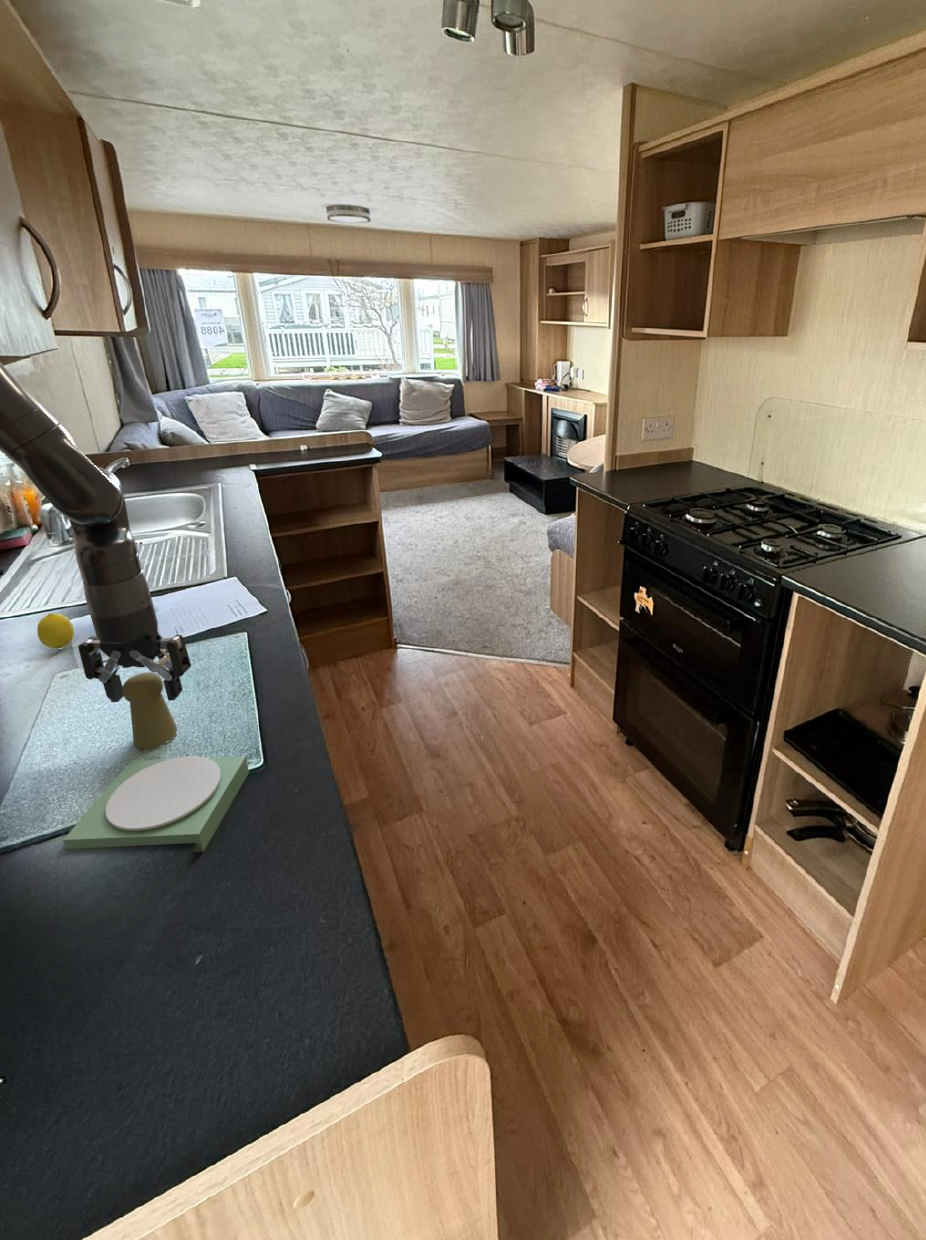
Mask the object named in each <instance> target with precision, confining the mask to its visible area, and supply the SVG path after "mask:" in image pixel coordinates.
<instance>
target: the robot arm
mask: <svg viewBox="0 0 926 1240" xmlns="http://www.w3.org/2000/svg"><path fill="white" fill-rule="evenodd" d="M0 452H1V453H2V454H4V456H5V457H7V458H8V459H9V460H10V461H11V462H12V463H14V464H15V465H16V466H17V467H18V468H20V470H21V471H22V472H23V473H24V474H25V476H27V478H28V479H29V480H30V481H31V483H32V484H33V485H34V486H35V487H36V488H37V490H38V491H39V492H40V493H41V494H42V495H43V497H44V498H45V499H46V500H47V501H48V502H49V503H50V504H51V505H52V506H53V508H55V509H56V510H57V511H58V512H59V513H60V514H61V515H63V516H64V517H65V518H67V519H68V520H69V524H70V527H71V530H72V534H73V536H74V553H75V559H76V563H77V566H78V569H79V573H80V576H81V579H82V584H83V592H84V593H83V594H84V598H85V602H86V605H87V609H88V612H89V615H90V620H91V623H92V625H93V630H94V633H95V636H93V635H92V636H90V637H89V638H87V639H86V640H84V641H83V642H82V643H81V644H79V645H78V647H77V648H78V649H77V650H78V652H79V656H80V660H81V664H82V668H83V672H84V676H85V678H86V679H87V680H94V679H97V680H98V681H99V682H101V683H102V685H103V687H104V692H105V695H106V697H107V699H108V700H110V702H111V703H119V702H120V701H121V700H122V699H123V698H124V695H123V692H122V688H123V683H122V679H121V676H120V674H118V672H119V670H120V668H121V667H122V669H128V668H129V669H130V668H133V667H135V668H147V669H148V670H149V671H150V672H152V673H156V674H157V675H159V676H160V677H161V679H164V680H162V681H163V687H164V689H165V694H166V697H167V698H166V699H167V700H168V701H169V702H170V701H176V700H177V698H179V696H180V694H182V692H183V686H182V681H181V677H183V676H184V674H185V673H186V672H187V671H188V670H189V669H190V668H191V667H192V663H191V660H190V657H189V653H188V650H187V645H186V643H185V640H184V636H183V635H182V634H179V633H178V634H175V635H174V636H172V637H163V636H161V634H160V633H159V630H158V629H159V623H158V618H157V614H156V611H155V606H154V602H153V599H152V594H151V590H150V587H149V583H148V580H147V578H146V576H145V574H144V571H143V568H142V563H141V559H140V556H139V550H138V551H137V548H136V545H137V544H136V545H135V543H134V540H135V539H134V540H133V538H132V536H133V534H132V532H131V527H130V521H129V515H128V509H127V504H126V499H125V494H124V488H123V487H122V486H123V485H122V483H121V481H120V479H118V477H117V476H116V475H115V474H114V473H112V471H110V470H108V469H106V468H104V467H101V466H97V465H95V464H94V463H93V462H92V461H91V459H90V458H88V456H86V455H85V454H84V453H83V452H82V450H80V448H78V447H77V445H76V444H75V441H74V440H73V437H72V436H71V435H70V433H69V432H68V431H67V429H66V428H65V427H64V425H62V424H61V423H60V422H59V421H58V420H57V419H56V417H54V416H53V415H52V413H50V411H48V409H46V408H45V407H44V406H43V405H42V403H40V402H39V401H38V400H37V399H36V397H34V396H33V395H32V394H31V393H30V392H29V391H28V389H26V388H25V387H24V385H22V384H21V383H20V382H19V380H18V379H17V378H15V376H14V375H13V374H12V373H11V372H10V371H9V370H8V369H7V368H6V367H5V366H4V364H3V363H2V362H1V361H0ZM131 534H132V535H131ZM101 652H102V653H103V654H105V655H106V656H107V657H108V659H107V660H106V663H105V664H104V660H103V655H102V653H101ZM156 658H158V661H157V662H156V661H154V660H155V659H156Z"/></svg>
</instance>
